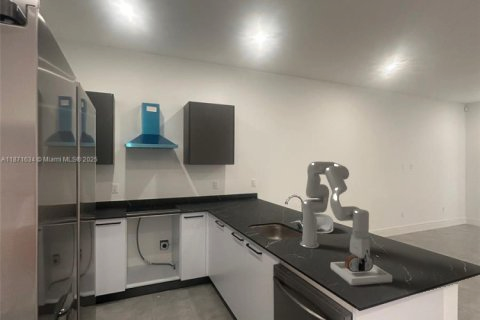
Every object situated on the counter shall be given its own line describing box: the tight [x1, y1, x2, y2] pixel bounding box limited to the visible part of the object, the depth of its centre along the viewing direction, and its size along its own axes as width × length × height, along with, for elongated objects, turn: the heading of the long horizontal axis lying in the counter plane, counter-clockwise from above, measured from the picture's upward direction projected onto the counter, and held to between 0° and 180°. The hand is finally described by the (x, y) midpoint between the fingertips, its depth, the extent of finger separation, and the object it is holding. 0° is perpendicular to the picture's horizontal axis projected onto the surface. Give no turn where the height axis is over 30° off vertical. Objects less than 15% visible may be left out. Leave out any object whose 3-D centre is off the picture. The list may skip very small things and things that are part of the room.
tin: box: [344, 254, 375, 272], centre depth 124 cm, size 15×3×8 cm, turn 100°
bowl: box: [314, 213, 334, 234], centre depth 204 cm, size 20×19×12 cm
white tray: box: [330, 261, 393, 286], centre depth 124 cm, size 18×22×3 cm
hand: (359, 268), depth 124 cm, fingers closed on tin, 2 cm apart
